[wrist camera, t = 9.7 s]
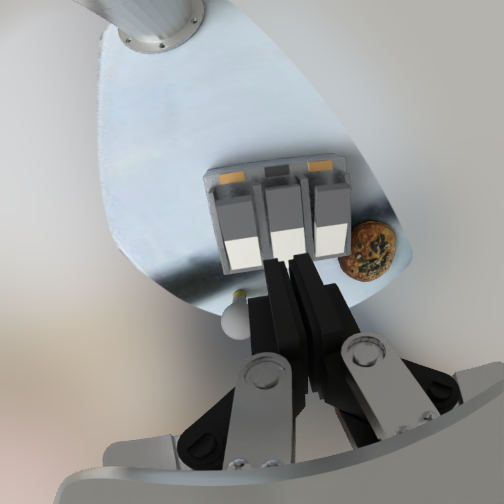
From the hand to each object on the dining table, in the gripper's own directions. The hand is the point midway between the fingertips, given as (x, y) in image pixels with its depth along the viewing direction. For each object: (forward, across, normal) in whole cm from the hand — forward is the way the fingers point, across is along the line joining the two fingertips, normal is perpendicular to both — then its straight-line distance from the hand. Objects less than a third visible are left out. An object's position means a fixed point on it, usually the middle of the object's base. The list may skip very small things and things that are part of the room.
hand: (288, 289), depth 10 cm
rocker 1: (+22, +3, +7) cm, 23 cm away
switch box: (+29, -3, +8) cm, 31 cm away
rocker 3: (+21, -8, +8) cm, 24 cm away
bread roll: (+29, -17, +18) cm, 38 cm away
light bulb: (+29, +5, +22) cm, 37 cm away
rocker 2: (+21, -3, +8) cm, 23 cm away
